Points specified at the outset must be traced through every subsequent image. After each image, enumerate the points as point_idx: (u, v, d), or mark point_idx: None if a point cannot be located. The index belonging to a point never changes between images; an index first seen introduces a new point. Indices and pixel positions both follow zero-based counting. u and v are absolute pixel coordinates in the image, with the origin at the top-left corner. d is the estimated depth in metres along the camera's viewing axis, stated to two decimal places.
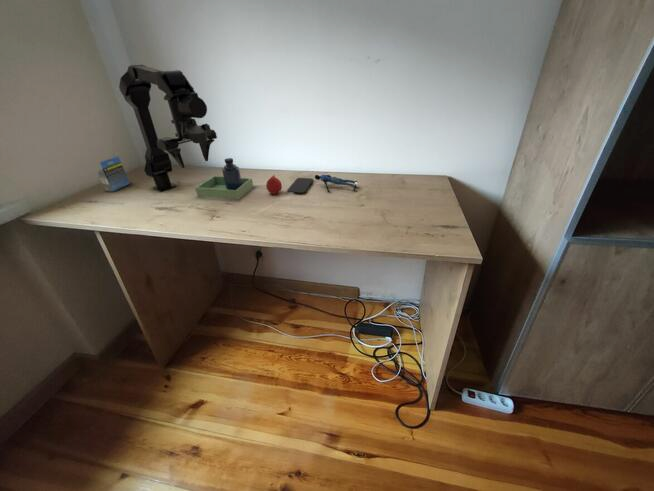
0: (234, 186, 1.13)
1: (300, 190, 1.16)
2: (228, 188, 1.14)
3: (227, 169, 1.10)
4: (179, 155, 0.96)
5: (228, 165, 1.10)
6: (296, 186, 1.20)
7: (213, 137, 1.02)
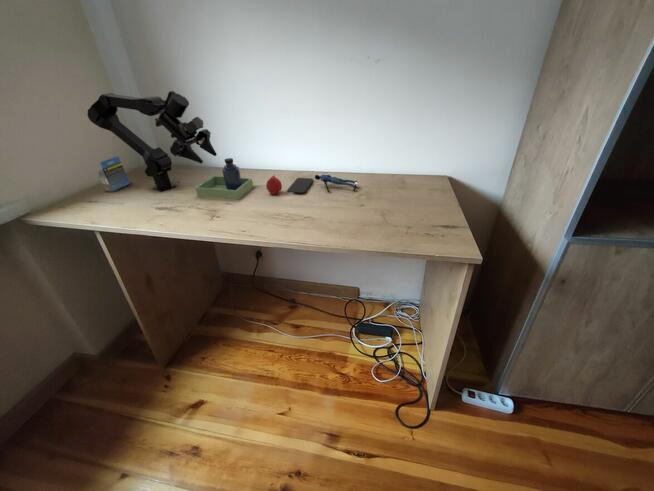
0: (234, 186, 1.13)
1: (300, 190, 1.16)
2: (228, 188, 1.14)
3: (227, 169, 1.10)
4: (192, 151, 1.06)
5: (228, 165, 1.10)
6: (296, 186, 1.20)
7: (207, 132, 1.14)
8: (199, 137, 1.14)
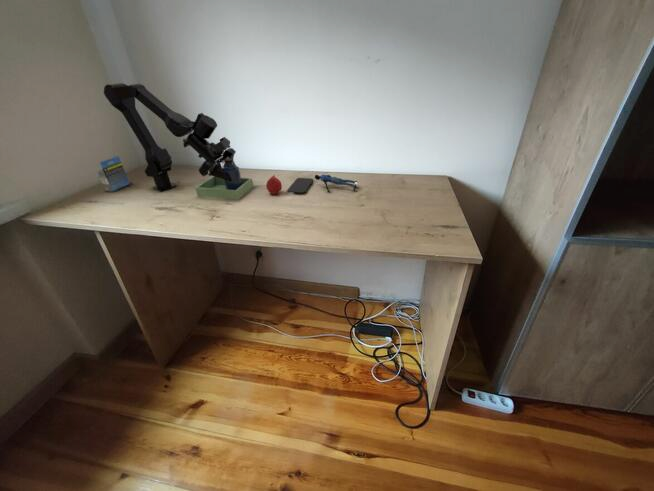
0: (234, 186, 1.13)
1: (300, 190, 1.16)
2: (228, 188, 1.14)
3: (227, 169, 1.10)
4: (222, 169, 1.09)
5: (228, 165, 1.10)
6: (296, 186, 1.20)
7: (233, 151, 1.16)
8: (225, 156, 1.15)
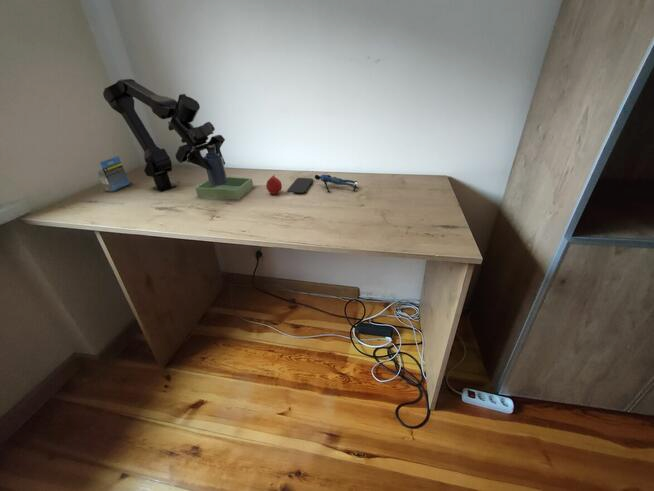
0: (215, 176, 1.04)
1: (300, 190, 1.16)
2: (209, 178, 1.05)
3: (208, 157, 1.01)
4: (201, 157, 1.00)
5: (209, 153, 1.01)
6: (296, 186, 1.20)
7: (221, 138, 1.07)
8: (211, 143, 1.07)
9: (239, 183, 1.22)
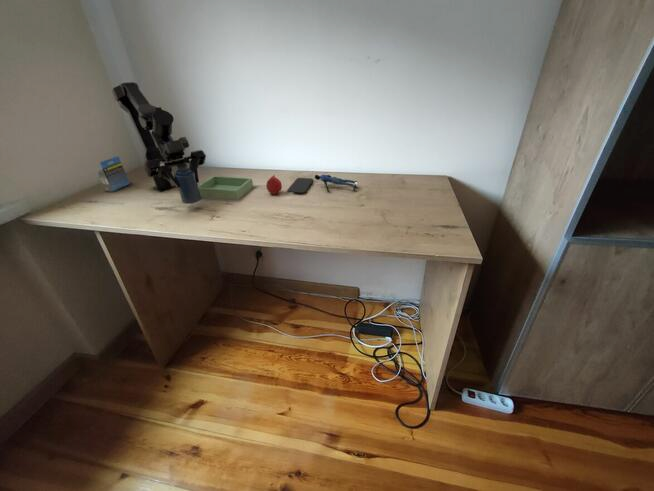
0: (183, 194, 0.98)
1: (300, 190, 1.16)
2: (180, 194, 1.00)
3: (177, 174, 0.96)
4: (169, 173, 0.95)
5: (179, 169, 0.96)
6: (296, 186, 1.20)
7: (200, 154, 1.01)
8: (191, 158, 1.01)
9: (239, 183, 1.22)
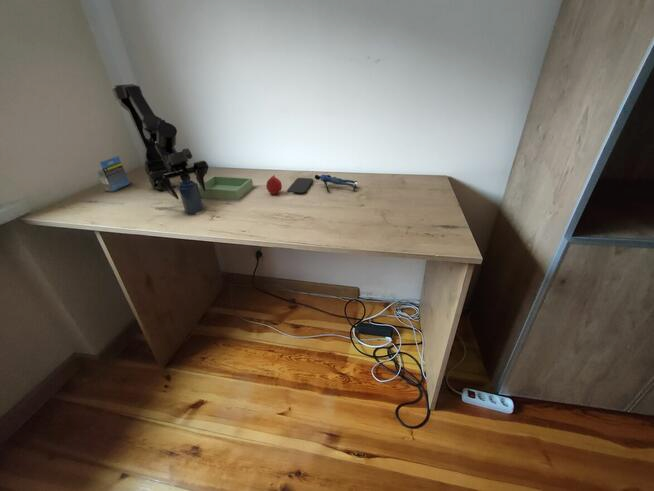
0: (187, 205, 1.01)
1: (300, 190, 1.16)
2: None
3: (180, 186, 0.98)
4: (169, 185, 0.97)
5: (182, 182, 0.98)
6: (296, 186, 1.20)
7: (203, 165, 1.03)
8: (194, 169, 1.03)
9: (239, 183, 1.22)
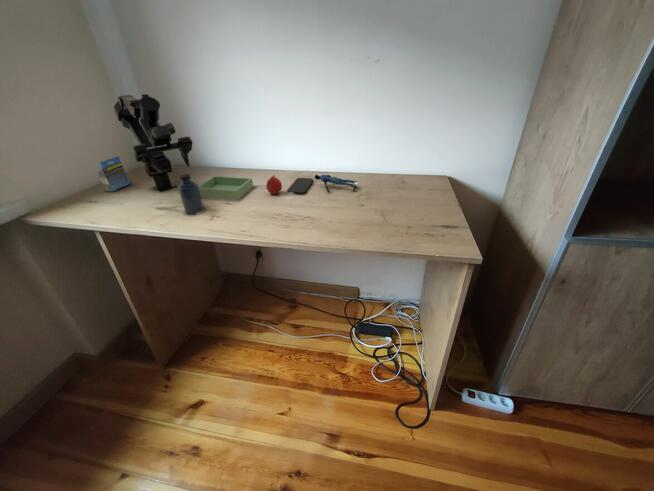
0: (187, 205, 1.01)
1: (300, 190, 1.16)
2: None
3: (180, 186, 0.98)
4: (152, 159, 0.99)
5: (182, 182, 0.98)
6: (296, 186, 1.20)
7: (187, 140, 1.05)
8: (178, 144, 1.06)
9: (239, 183, 1.22)
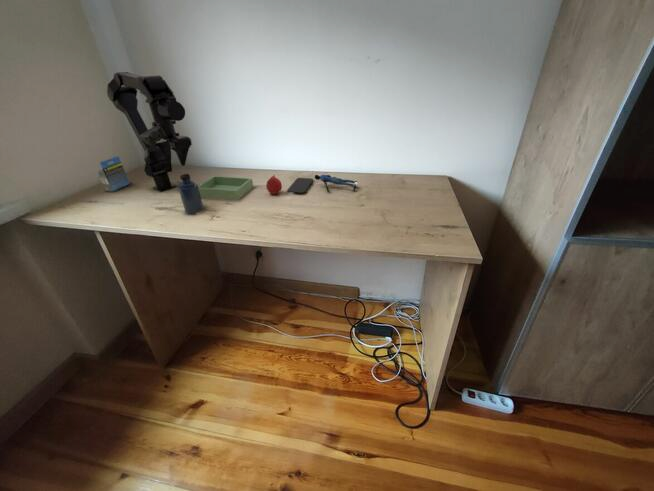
0: (187, 205, 1.01)
1: (300, 190, 1.16)
2: None
3: (180, 186, 0.98)
4: (161, 149, 1.09)
5: (182, 182, 0.98)
6: (296, 186, 1.20)
7: (173, 146, 0.99)
8: None
9: (239, 183, 1.22)
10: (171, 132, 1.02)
